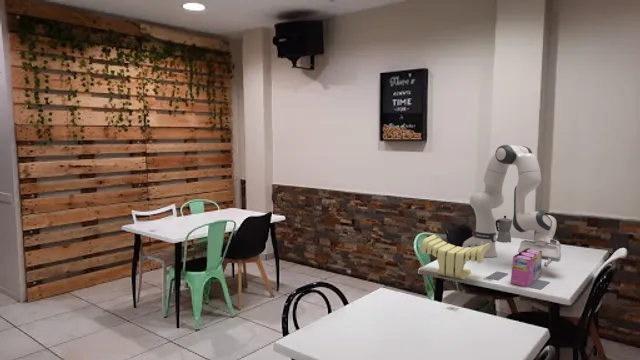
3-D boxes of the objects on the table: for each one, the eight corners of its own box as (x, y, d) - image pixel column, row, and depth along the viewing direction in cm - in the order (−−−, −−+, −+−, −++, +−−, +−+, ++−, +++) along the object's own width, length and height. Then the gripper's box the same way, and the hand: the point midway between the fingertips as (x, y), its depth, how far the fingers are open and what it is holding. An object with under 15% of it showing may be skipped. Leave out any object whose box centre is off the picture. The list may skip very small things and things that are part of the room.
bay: (485, 277, 226) (485, 277, 226) (496, 271, 237) (496, 271, 237) (540, 289, 209) (540, 289, 209) (550, 282, 220) (550, 281, 220)
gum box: (525, 272, 235) (527, 247, 233) (541, 276, 230) (544, 250, 228) (510, 283, 217) (512, 256, 215) (527, 287, 212) (529, 259, 210)
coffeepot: (505, 239, 317) (506, 214, 315) (516, 241, 309) (517, 216, 307) (489, 240, 310) (490, 215, 309) (500, 243, 302) (501, 217, 300)
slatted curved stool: (421, 273, 233) (422, 239, 231) (432, 266, 246) (433, 234, 244) (479, 284, 216) (481, 248, 214) (488, 276, 228) (490, 242, 227)
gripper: (520, 236, 242) (513, 257, 235) (562, 242, 228) (556, 264, 222) (523, 242, 245) (516, 263, 239) (564, 249, 232) (558, 271, 226)
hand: (535, 264), depth 230 cm, fingers open, 8 cm apart
